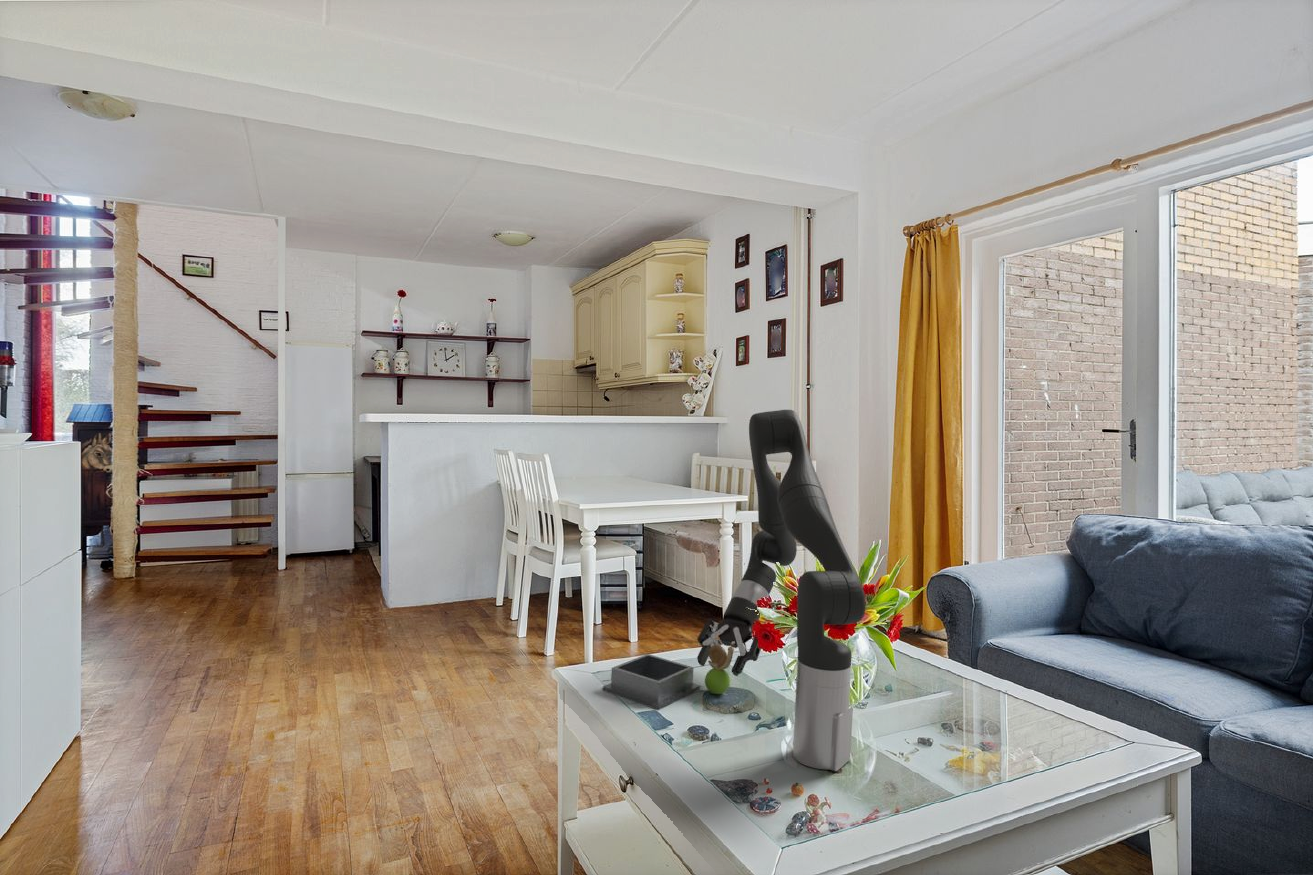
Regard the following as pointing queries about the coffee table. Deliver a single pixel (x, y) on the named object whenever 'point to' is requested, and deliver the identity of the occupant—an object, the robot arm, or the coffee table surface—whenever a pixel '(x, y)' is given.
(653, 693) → the duct collar
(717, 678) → the snail figurine
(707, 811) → the coffee table surface
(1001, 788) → the coffee table surface
